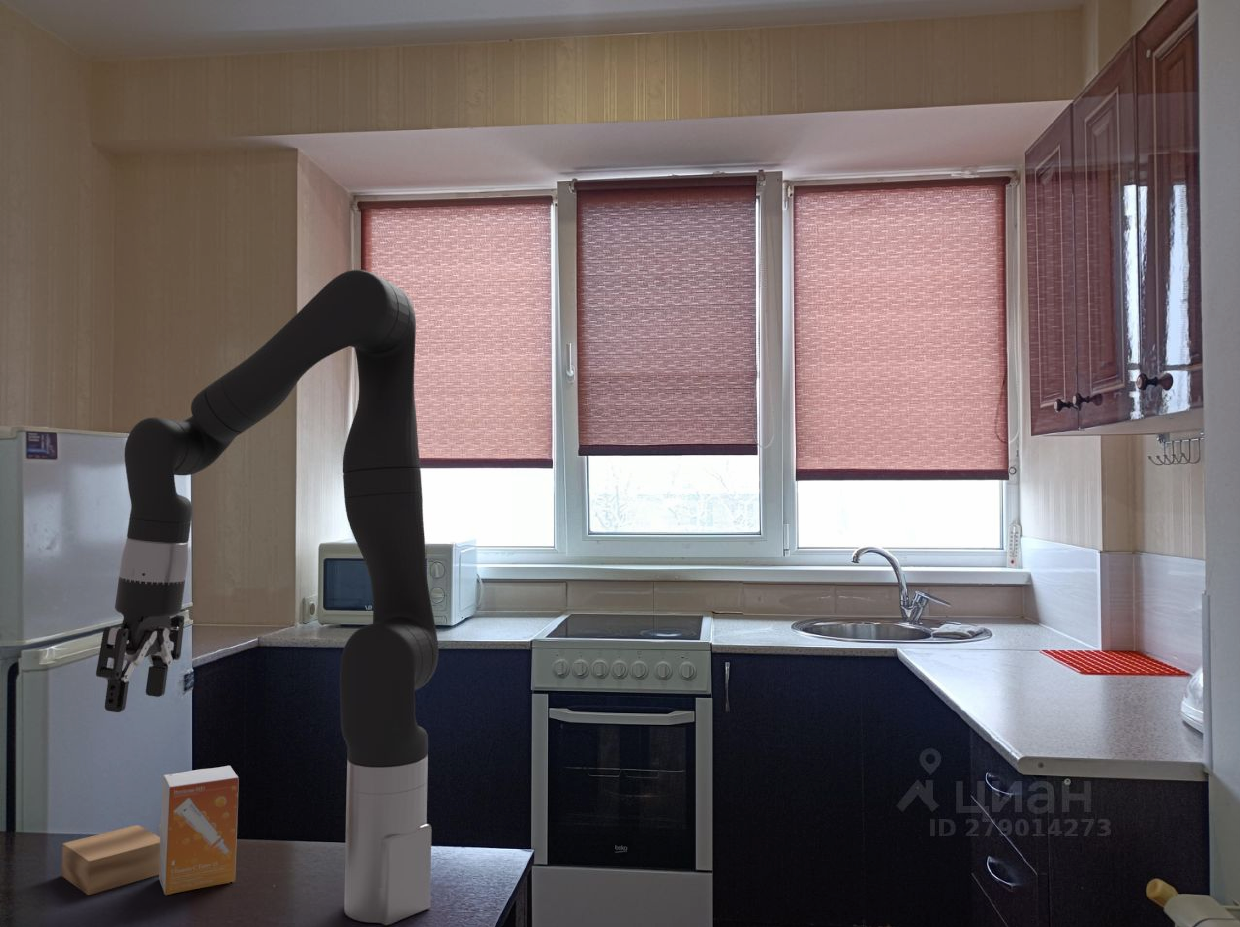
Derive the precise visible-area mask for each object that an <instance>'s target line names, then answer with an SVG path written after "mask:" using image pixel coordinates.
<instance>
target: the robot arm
mask: <svg viewBox="0 0 1240 927" xmlns="http://www.w3.org/2000/svg"><path fill="white" fill-rule="evenodd" d="M416 319H417V318H416V312H415V309H414V305H413V303H412V301H411V299H410V297H409V296H408V294H406V292H405V291H404V290H403V289H401V287H399V286H397V285H395V284H394V283H392V282H390V281H388V280H386V279H385V278H383V277H381V276H379V275H378V274H375V273H373V272H370V271H367V270H364V269H352V270H351V269H350V270H346V271H345V272H342V273H340V274H339V275H337V276H336V277H334V278H333V279H332V280H330V281H329V282H328V283H327V284H326V285H325V286H324V287H323V288H321V289H320V290H319V291H318V292H317V293H316V295H314V296H313V297H312V298H311V299H310V300H309V301H308V302H307V303H306V304H305V305H304V306H303V307H302V308H301V309H300V310H299V311H298V312H297V313H296V314H295V315H294V316H293V317H292V318H291V319H290V320H289V321H288V322H287V323H285V325H284V326H283V327H282V328H280V330H278V332H276V333H275V334H274V335H273V336H272V337H271V338H270V339H269V340H268V341H267V342H266V343H265V344H263V345H262V346H261V347H260V348H258V350H256V351H255V352H254V353H253V354H251V355H250V356H249V357H247V359H245V360H244V361H242V362H241V363H240V364H237V366H235V367H234V368H232V369H231V370H229V371H228V372H227V373H225V374H224V375H222V376H221V377H219V378H218V379H216V380H215V381H213V382H212V383H210V384H209V385H207V386H206V387H205V388H204V389H202V390H201V391H200V392H198V393H197V395H196V396H195V397H194V398H193V399H192V401H191V406H190V412H191V415H192V416H191V417H188V418H187V419H185V420H182V421H181V420H175V419H170V418H163V417H162V418H161V417H147V418H145V419H143V420H139V422H137V423H136V424H135V425H134V426H133V428H132V429H131V430H130V432H129V434H128V436H127V438H126V442H125V446H124V464H125V472H126V474H125V475H126V479H127V487H128V488H127V489H128V494H129V498H130V507H131V508H130V514H129V519H128V526H127V527H128V528H127V533H126V539H125V545H124V548H123V551H122V555H121V558H120V559H121V562H120V568H119V574H118V575H119V576H118V582H117V588H116V598H115V604H114V609H115V611H116V612H117V613H120V614H121V615H122V616H123V618H122V622H121V624H120V627H111V626H105V627H104V629H103V632H102V638H101V641H100V642H101V643H100V648H99V654H98V659H97V664H96V665H97V666H96V671H95V676H96V677H97V678H102V679H105V680H107V681H106V682H107V685H106V686H107V687H106V692H105V693H106V694H105V699H104V700H105V701H104V709H105V711H108V712H114V713H121V712H122V711H125V709H126V707H127V699H128V692H129V684H130V681H129V679H130V677H131V675H132V674H133V671H134V670H135V668H136V667H139V666H140V665H142V663H143V661H144V658H146V657H147V658H148V661H149V665H150V666H149V667H148V672H147V680H146V687H145V694H146V696H149V697H156V698H157V697H158V698H160V697H162V696H164V695H165V693H166V685H167V680H168V679H167V677H168V671H169V668H171V667H172V666H173V661H174V660H176V661H178V660H180V658H181V655H182V647H183V636H184V635H183V634H184V628H185V627H184V626H185V616H184V615H179V613H181V611H182V605H183V599H184V593H185V592H184V591H185V584H186V577H187V569H188V563H189V562H188V561H189V539H190V533H191V532H190V531H191V524H192V518H193V517H192V516H193V504H192V502H191V500H189V498H188V497H186V496H183V495H180V494H178V492H177V489H176V488H177V487H176V480H175V476H190V475H194V474H197V473H199V472H202V471H203V470H205V469H206V468H208V467H210V466H211V465H212V464H213V463H215V461H217V459H219V458H220V457H221V455H222V454H223V453H224V452H225V451H226V450H227V449H228V448H229V447H230V446H231V444H232V443H233V441H235V439H236V438H237V437H238V436H239V435H241V434H243V433H244V432H246V431H248V430H249V429H251V427H253V426H255V425H256V424H258V423H259V422H260V421H262V420H263V419H265V418H266V417H268V416H269V415H271V414H272V413H273V412H274V411H275V410H276V409H277V408H279V407H280V405H282V403H284V401H285V400H286V399H287V398H288V397H289V395H290V394H291V393H292V391H293V389H294V388H295V386H296V385H297V383H298V382H299V380H300V379H301V378H302V377H303V376H304V375H305V374H306V373H307V372H308V371H309V370H310V369H311V368H313V367H314V366H315V365H316V364H318V363H320V362H321V361H322V360H324V359H325V358H328V357H329V356H331V355H333V354H335V353H337V352H339V351H341V350H343V349H346V348H348V347H351V348H353V349H354V352H355V358H356V364H357V365H356V366H357V375H358V376H357V377H358V400H357V406H356V410H355V413H354V417H353V420H352V423H351V424H350V429H349V432H348V436H347V438H346V442H345V446H344V450H343V455H342V481H343V482H342V483H343V484H342V486H343V498H344V507H345V513H346V518H347V521H348V526H349V527H350V530H351V533H352V535H353V538H354V540H355V542H356V544H357V546H358V549H359V552H360V554H361V556H362V558H363V560H364V564H365V565H366V567H367V571H368V574H369V578H370V584H371V593H372V594H371V595H372V623H370V624H367V625H364V626H362V627H360V628H359V629H357V630H355V631H354V632H353V633H352V635H351V636H350V637H349V638H348V639H347V642H346V643H345V645H344V647H343V651H342V655H341V659H340V668H339V669H340V670H339V696H340V698H339V699H340V728H341V732H342V733H341V734H342V737H343V740H344V742H345V744H346V748H347V760H346V761H347V763H346V764H347V766H346V769H347V770H346V801H345V802H346V804H345V805H346V806H345V809H346V810H345V845H344V846H345V848H344V849H345V852H344V853H345V856H344V857H345V859H344V903H343V904H344V905H343V906H344V907H343V909H344V910H343V911H344V913H345V915H346V916H347V917H348V918H349V919H352V920H355V921H358V922H364V923H373V924H374V923H376V924H377V923H378V924H382V925H384V926H389V925H392V924H394V923H396V922H399V921H401V920H403V919H406V918H409V917H410V916H414V915H416V914H418V913H421V912H423V911H425V910H428V909H430V908H431V882H432V881H431V879H432V877H431V876H432V874H431V871H432V869H431V868H432V867H431V866H432V826H431V824H429V823H427V822H428V820H427V819H428V818H427V817H428V816H427V813H428V809H427V808H428V807H427V806H428V803H427V802H428V769H429V766H428V761H429V760H428V759H429V757H428V756H429V755H428V753H429V738H428V737H429V735H428V733H427V731H426V729H424V727H422V726H419V725H418V722H417V718H416V696H415V694H416V693H415V692H416V691H418V690H419V689H422V687H424V686H425V685H426V684H427V683H428V682H429V681H430V680H431V678H432V677H433V676H434V673H435V671H436V668H437V665H438V661H439V642H438V635H437V634H438V633H437V630H436V629H437V628H436V622H435V616H434V612H433V608H432V600H431V595H430V588H429V583H428V582H429V581H428V572H427V562H426V561H427V557H426V540H425V539H426V538H425V528H424V527H425V524H424V512H423V511H424V509H423V508H424V507H423V504H424V502H423V501H424V500H423V488H422V487H423V485H422V470H421V468H422V467H421V460H420V451H419V450H420V449H419V438H418V421H417V410H416V401H415V400H416V399H415V364H416V362H415V360H416V335H417V332H416V331H417V322H416V321H417V320H416ZM171 642H172V643H173V645H172V643H171ZM109 659H111V662H110V663H109V665H108V661H109ZM124 665H125V666H124ZM123 666H124V668H123Z"/></svg>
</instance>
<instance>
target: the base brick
mask: <svg viewBox="0 0 1240 927" xmlns="http://www.w3.org/2000/svg"><path fill="white" fill-rule="evenodd" d="M61 849H62V850H61V851H62V852H61V873H60V874H61V877H62V878H64V879H66V881H68V882H69V883H70V884H72V885H74V886H75V887H76V888H77V889H79V890H80V891H82V892H83V893H84V894H85V895H87V896H92V895H94V894H98V893H101V892H104V891H108V890H112V889H115V888H118V887H121V886H125V885H129V884H131V883H134V882H139V881H143V880H145V879H150V878H151V877H152V878H153V877H157V876H159V859H160V837H159V835H157V834H155V833H154V832H151V831H150V830H148V829H146V828H145V827H143V826H140V824H139V825H138V824H136V825H131V826H127V827H124V828H119V829H115V830H111V831H107V832H102V833H100V834H95V835H92V836H91V835H90V836H88V837H83V838H79V839H75V840H70V841H66V842H63V843H62V848H61Z"/></svg>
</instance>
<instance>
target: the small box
mask: <svg viewBox="0 0 1240 927" xmlns="http://www.w3.org/2000/svg"><path fill="white" fill-rule="evenodd" d="M239 778H240V777H239V776H238V774H236V772H235V771H234V769H233V768H232V766H231V765H226V766H220V767H213V768H212V767H211V768H200V769H195V770H188V771H183V772H182V771H181V772H176V773H175V772H174V773H170V774H163V775H162V780H161V781H162V782H161V783H162V785H161V808H160V809H161V810H160V813H161V814H160V825H161V829H160V859H159V875H158V879H159V883H160V885H161V887H162V891H163V894H164V895H165V896H170V895H173V894H177V893H182V892H188V891H193V890H197V889H203V888H204V889H205V888H208V887H214V886H219V885H220V886H221V885H225V884H231V883H230V882H232V883H235V881H236V868H237V867H236V865H237V864H236V863H237V843H238V842H237V840H238V839H237V837H238V811H239V810H238V809H239V784H240V783H239V781H240V779H239Z"/></svg>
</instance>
